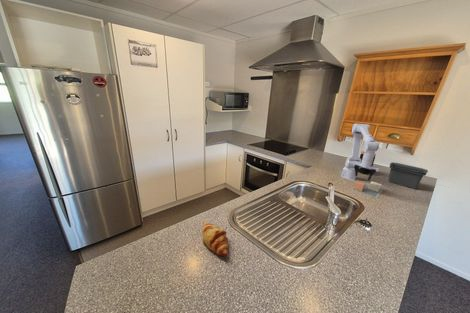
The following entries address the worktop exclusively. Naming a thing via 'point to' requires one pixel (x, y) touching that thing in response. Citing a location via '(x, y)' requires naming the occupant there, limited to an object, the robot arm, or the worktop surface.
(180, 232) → the worktop surface
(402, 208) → the worktop surface
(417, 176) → the storage bin
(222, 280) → the worktop surface
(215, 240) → the croissant
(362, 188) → the terracotta block
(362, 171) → the coffee jar
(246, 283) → the worktop surface
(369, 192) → the board
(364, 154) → the robot arm
